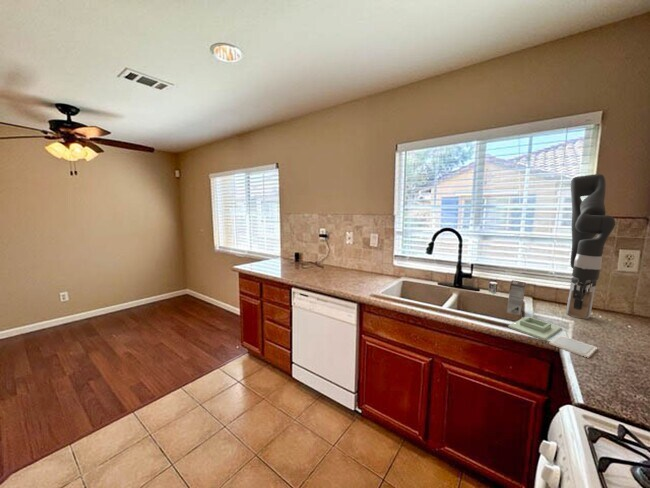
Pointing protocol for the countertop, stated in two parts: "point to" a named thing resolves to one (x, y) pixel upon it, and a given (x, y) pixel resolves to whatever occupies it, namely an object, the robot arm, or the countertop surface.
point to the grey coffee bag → (516, 297)
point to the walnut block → (585, 306)
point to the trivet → (573, 346)
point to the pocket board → (535, 327)
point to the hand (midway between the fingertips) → (579, 307)
